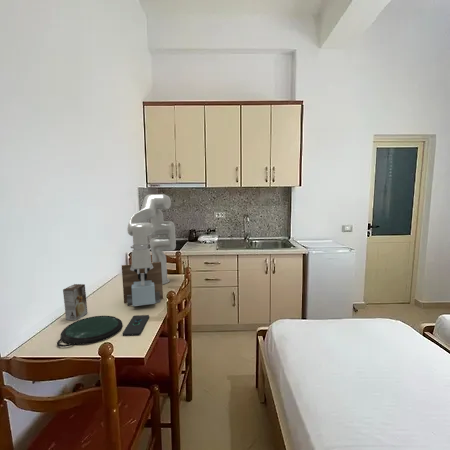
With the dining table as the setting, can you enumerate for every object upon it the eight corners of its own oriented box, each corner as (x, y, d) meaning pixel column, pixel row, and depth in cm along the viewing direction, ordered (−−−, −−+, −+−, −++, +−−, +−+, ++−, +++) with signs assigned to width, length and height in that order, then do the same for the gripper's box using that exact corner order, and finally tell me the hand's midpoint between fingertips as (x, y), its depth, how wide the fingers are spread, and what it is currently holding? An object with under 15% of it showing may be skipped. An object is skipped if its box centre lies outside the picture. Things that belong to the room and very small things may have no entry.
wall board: (124, 302, 180) (121, 265, 177) (162, 297, 186) (160, 261, 183) (123, 306, 173) (121, 268, 171) (163, 301, 179) (161, 264, 177)
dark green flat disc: (134, 319, 150) (79, 348, 123) (134, 325, 150) (80, 355, 124) (96, 310, 162) (39, 335, 136) (96, 316, 162) (39, 342, 136)
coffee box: (77, 312, 167) (74, 283, 165) (87, 313, 165) (85, 284, 163) (65, 320, 158) (62, 289, 156) (76, 320, 156) (74, 289, 155)
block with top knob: (132, 299, 179) (131, 271, 178) (154, 296, 182) (152, 269, 181) (132, 306, 167) (130, 277, 166) (155, 303, 170) (153, 274, 169)
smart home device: (149, 314, 158) (140, 332, 138) (149, 317, 159) (140, 336, 139) (133, 315, 158) (121, 333, 138) (133, 318, 158) (121, 337, 138)
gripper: (125, 249, 162) (127, 283, 165) (156, 247, 167) (157, 280, 169) (125, 247, 170) (127, 280, 172) (155, 245, 174) (157, 277, 176)
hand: (142, 280), depth 170 cm, fingers closed on block with top knob
